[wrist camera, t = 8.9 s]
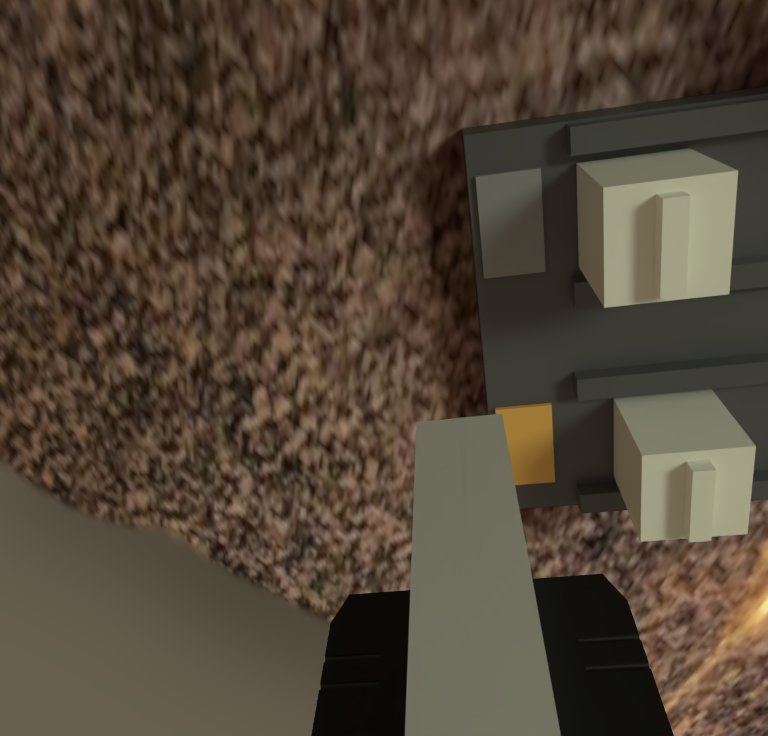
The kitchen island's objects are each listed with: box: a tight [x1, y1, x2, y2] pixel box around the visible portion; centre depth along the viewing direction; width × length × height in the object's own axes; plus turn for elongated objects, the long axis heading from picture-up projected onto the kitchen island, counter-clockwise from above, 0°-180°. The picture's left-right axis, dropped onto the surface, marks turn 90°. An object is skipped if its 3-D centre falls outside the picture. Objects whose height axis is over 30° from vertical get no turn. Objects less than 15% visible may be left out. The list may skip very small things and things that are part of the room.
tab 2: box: [613, 389, 756, 542], centre depth 28 cm, size 4×4×5 cm
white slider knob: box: [576, 148, 738, 308], centre depth 24 cm, size 4×4×5 cm
